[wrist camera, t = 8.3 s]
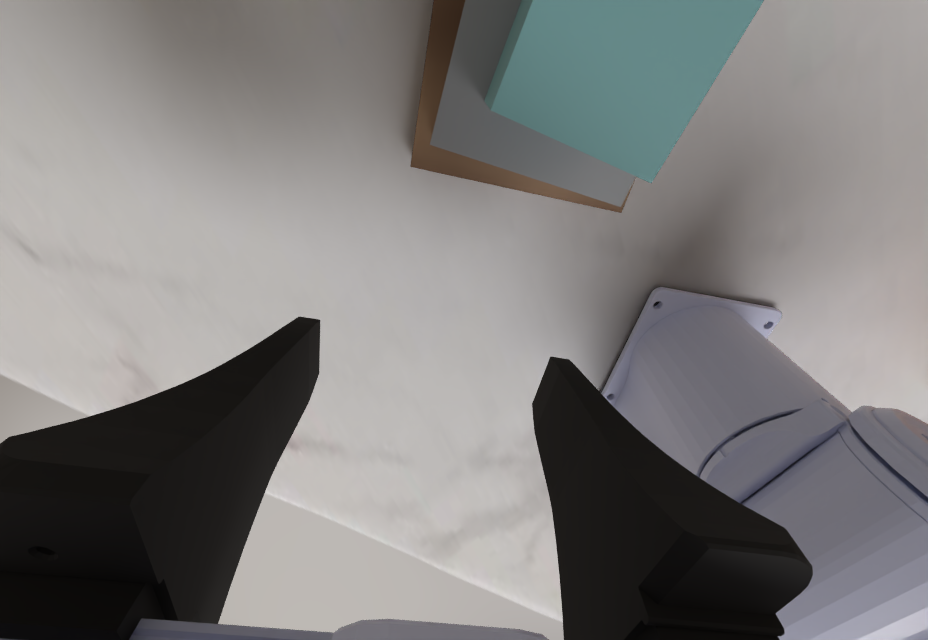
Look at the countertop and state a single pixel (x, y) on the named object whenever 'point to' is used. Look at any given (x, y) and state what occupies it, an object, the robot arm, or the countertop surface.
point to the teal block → (615, 72)
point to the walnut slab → (434, 77)
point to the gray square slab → (499, 138)
